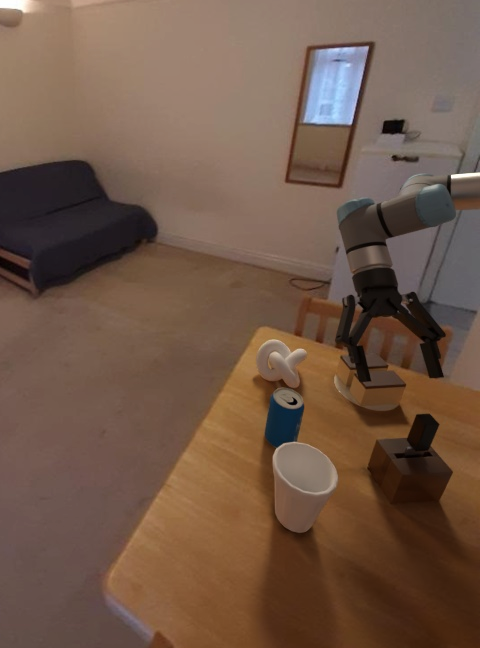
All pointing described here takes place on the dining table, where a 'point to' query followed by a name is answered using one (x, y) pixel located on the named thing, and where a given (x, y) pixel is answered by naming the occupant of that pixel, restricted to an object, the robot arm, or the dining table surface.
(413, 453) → the knife
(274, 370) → the white knot sculpture
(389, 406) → the plate
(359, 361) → the robot arm
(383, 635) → the dining table surface
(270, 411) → the beverage can
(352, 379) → the cake
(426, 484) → the knife block
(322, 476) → the cup
